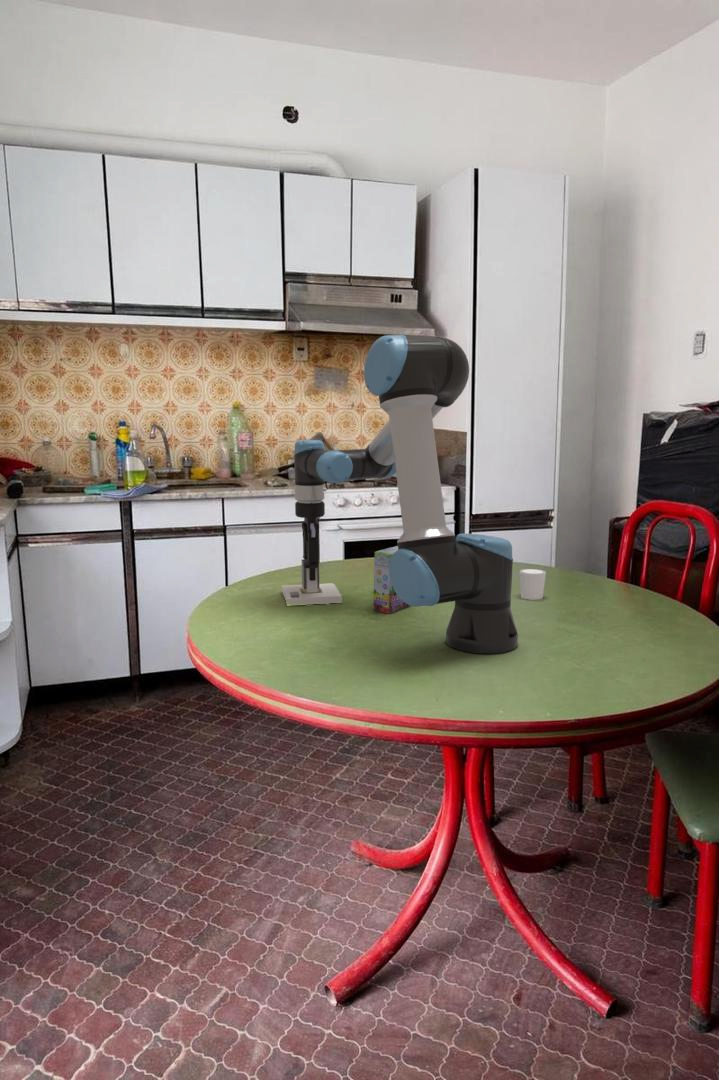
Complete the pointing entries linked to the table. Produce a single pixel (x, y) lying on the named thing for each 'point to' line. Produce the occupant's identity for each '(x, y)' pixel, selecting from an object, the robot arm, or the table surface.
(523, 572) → the white cup
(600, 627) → the table surface
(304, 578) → the plug
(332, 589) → the socket plate
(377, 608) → the snack box
